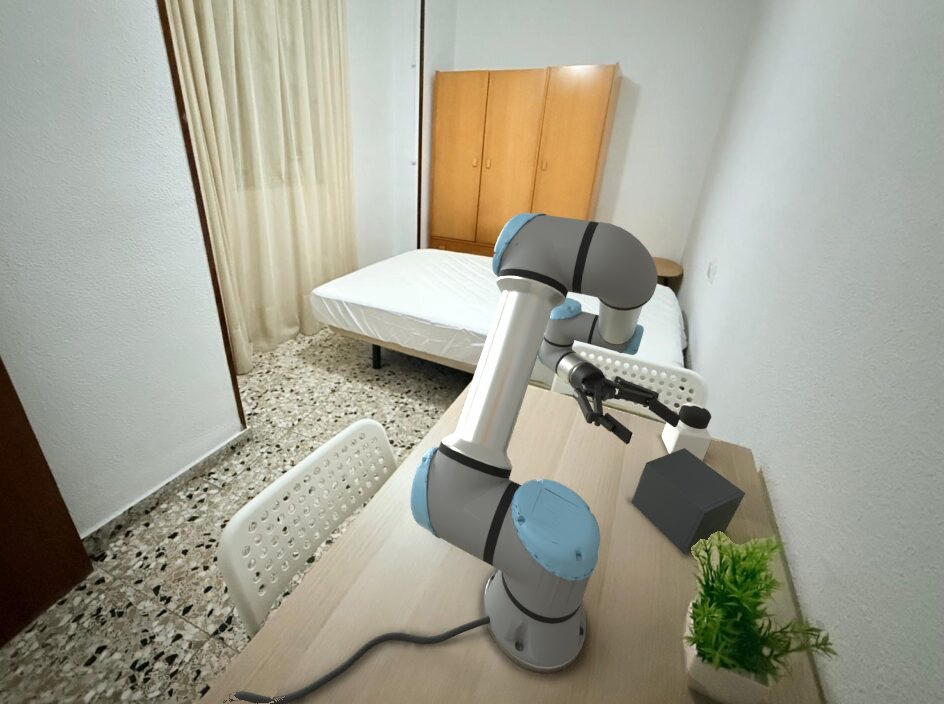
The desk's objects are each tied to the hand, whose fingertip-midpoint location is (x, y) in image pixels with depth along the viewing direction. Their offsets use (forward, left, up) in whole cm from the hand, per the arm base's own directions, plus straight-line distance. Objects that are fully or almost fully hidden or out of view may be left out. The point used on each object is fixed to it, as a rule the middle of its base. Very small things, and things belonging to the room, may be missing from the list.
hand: (654, 430), depth 81 cm
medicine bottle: (+18, +6, -14) cm, 24 cm away
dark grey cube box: (+2, -10, -14) cm, 17 cm away
